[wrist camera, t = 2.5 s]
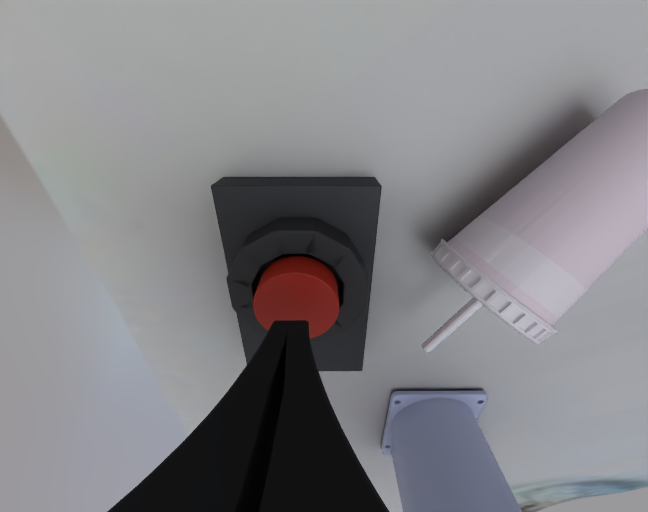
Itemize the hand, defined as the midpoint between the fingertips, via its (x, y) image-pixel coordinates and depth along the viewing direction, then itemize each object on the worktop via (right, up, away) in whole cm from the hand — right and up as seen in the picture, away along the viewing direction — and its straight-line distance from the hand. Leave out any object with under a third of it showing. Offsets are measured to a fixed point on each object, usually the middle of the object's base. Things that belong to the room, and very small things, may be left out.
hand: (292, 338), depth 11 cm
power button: (0, +2, +3) cm, 3 cm away
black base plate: (0, +2, +6) cm, 7 cm away
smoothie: (+15, +9, 0) cm, 17 cm away
